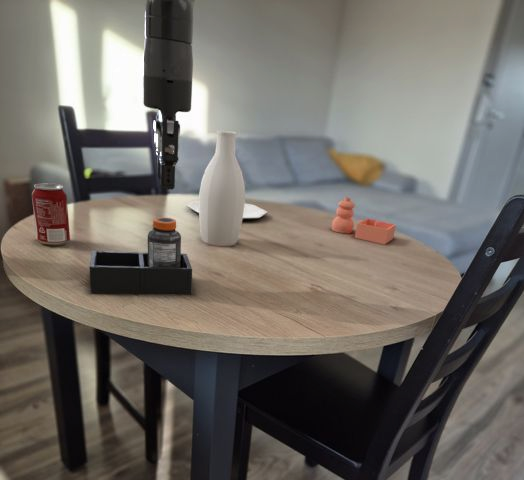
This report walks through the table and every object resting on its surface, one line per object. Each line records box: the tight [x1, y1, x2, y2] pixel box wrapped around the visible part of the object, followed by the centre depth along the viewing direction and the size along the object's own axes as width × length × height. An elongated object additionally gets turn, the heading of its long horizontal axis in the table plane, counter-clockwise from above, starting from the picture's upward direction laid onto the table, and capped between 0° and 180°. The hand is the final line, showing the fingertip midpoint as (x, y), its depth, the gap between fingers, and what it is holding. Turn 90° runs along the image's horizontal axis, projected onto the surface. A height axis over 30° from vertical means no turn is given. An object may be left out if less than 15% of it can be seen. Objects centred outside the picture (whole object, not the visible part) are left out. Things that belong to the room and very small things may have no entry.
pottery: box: [331, 196, 397, 245], centre depth 142 cm, size 18×10×10 cm, turn 62°
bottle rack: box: [88, 250, 193, 295], centre depth 89 cm, size 17×9×5 cm, turn 104°
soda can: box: [31, 182, 71, 247], centre depth 103 cm, size 7×7×12 cm
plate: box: [186, 199, 268, 220], centre depth 150 cm, size 24×24×2 cm
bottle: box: [198, 129, 246, 247], centre depth 115 cm, size 11×11×25 cm
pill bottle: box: [147, 216, 182, 268], centre depth 88 cm, size 6×6×11 cm
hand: (165, 183), depth 82 cm, fingers open, 8 cm apart
